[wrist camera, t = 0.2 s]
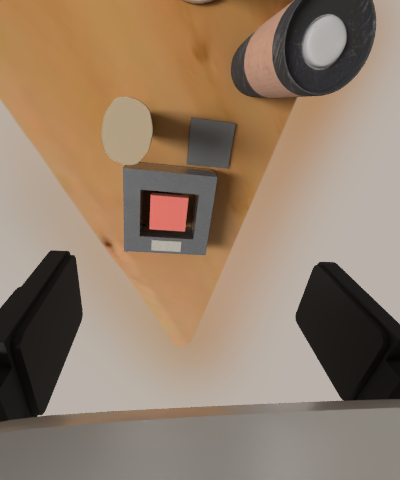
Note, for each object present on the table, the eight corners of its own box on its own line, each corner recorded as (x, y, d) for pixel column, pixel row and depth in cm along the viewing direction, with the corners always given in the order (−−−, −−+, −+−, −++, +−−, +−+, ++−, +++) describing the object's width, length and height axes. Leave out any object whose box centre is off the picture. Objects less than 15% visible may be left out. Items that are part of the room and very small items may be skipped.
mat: (191, 117, 40) (191, 117, 39) (235, 123, 41) (235, 123, 40) (186, 163, 43) (186, 164, 42) (227, 168, 44) (228, 168, 44)
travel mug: (241, 108, 40) (298, 115, 22) (219, 55, 36) (267, 13, 19) (287, 81, 39) (385, 65, 21) (269, 23, 35) (369, -54, 18)
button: (151, 192, 41) (150, 195, 40) (188, 195, 42) (188, 198, 41) (149, 226, 44) (149, 229, 43) (184, 228, 45) (184, 231, 44)
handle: (162, 105, 38) (158, 107, 25) (151, 148, 41) (143, 170, 28) (129, 93, 37) (107, 89, 24) (121, 138, 40) (97, 156, 27)
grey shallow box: (127, 160, 42) (122, 168, 37) (212, 169, 44) (217, 177, 39) (128, 237, 48) (124, 251, 44) (202, 241, 50) (205, 255, 46)
